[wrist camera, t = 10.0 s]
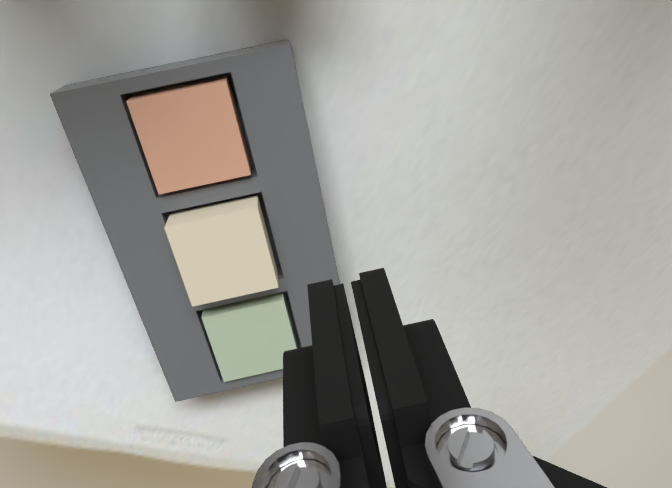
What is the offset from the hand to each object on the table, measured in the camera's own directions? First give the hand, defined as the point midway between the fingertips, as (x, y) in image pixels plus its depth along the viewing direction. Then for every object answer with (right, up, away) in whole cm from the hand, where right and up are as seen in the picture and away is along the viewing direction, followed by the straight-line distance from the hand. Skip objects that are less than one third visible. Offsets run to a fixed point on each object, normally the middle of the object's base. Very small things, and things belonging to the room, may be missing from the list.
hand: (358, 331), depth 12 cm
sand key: (-7, +2, +20) cm, 21 cm away
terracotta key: (-8, +8, +18) cm, 22 cm away
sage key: (-6, -3, +24) cm, 25 cm away
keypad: (-7, +3, +22) cm, 23 cm away
